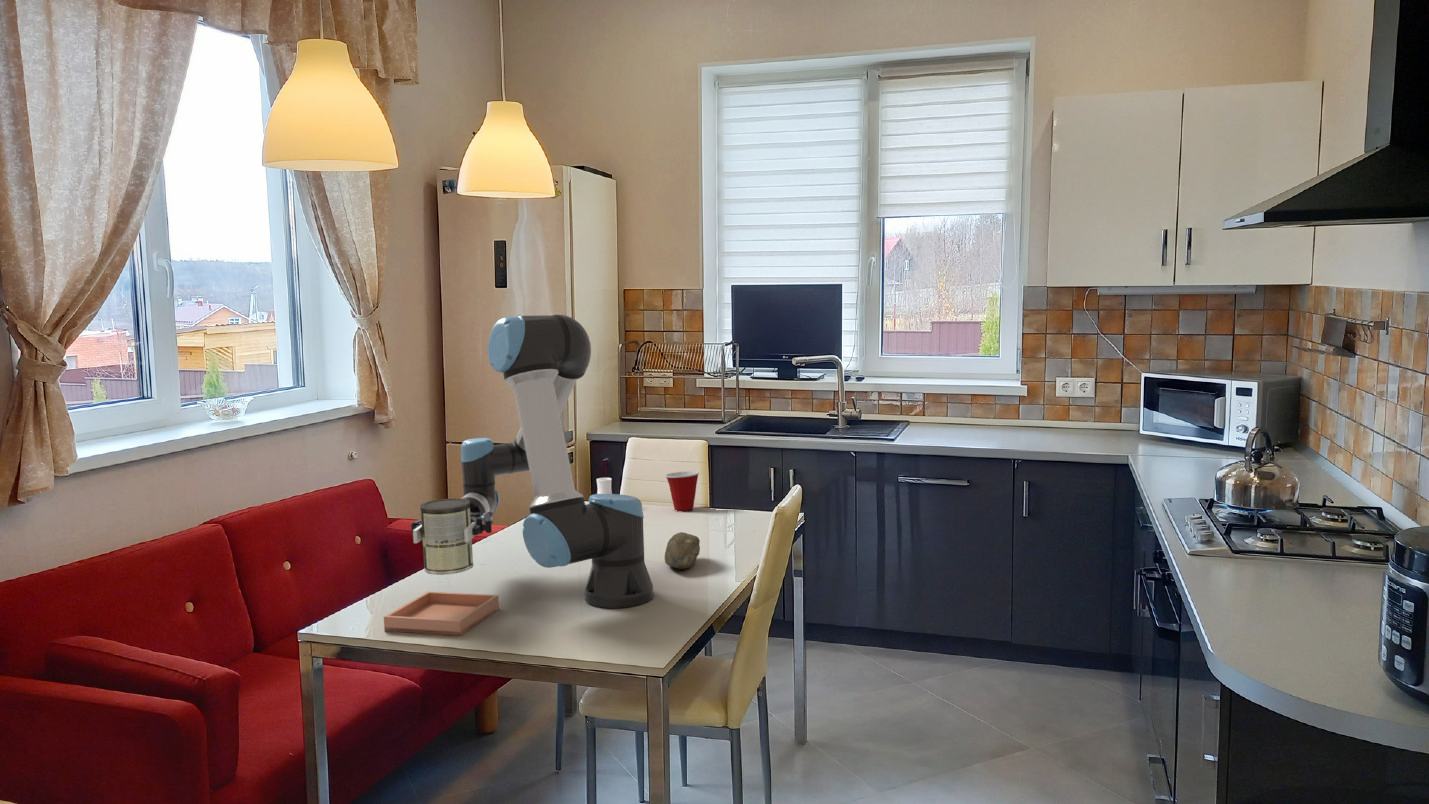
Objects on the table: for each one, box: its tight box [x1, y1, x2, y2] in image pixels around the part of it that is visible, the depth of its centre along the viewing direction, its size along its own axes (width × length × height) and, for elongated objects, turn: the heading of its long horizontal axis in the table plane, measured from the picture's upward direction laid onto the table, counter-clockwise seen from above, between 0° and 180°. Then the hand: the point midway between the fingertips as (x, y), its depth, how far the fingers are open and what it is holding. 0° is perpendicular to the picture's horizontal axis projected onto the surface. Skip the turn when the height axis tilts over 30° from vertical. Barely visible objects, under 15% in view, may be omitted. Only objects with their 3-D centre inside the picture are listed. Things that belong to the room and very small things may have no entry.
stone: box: [664, 531, 701, 570], centre depth 235 cm, size 17×9×8 cm, turn 178°
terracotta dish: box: [383, 591, 500, 637], centre depth 199 cm, size 17×17×3 cm
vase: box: [596, 477, 613, 494], centre depth 301 cm, size 8×8×10 cm
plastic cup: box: [664, 470, 700, 512], centre depth 297 cm, size 11×11×12 cm
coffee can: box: [419, 497, 474, 576], centre depth 201 cm, size 10×10×14 cm
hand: (440, 536), depth 197 cm, fingers closed on coffee can, 10 cm apart
